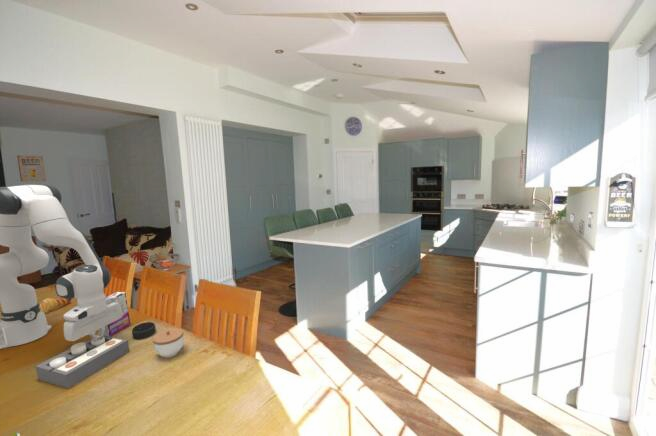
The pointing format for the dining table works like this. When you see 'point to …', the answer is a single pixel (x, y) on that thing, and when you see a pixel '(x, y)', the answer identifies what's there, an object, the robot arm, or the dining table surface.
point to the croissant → (52, 304)
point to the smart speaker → (143, 330)
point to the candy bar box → (120, 323)
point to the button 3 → (98, 342)
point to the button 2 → (78, 349)
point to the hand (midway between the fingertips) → (98, 339)
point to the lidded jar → (168, 342)
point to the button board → (82, 362)
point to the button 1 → (58, 362)
